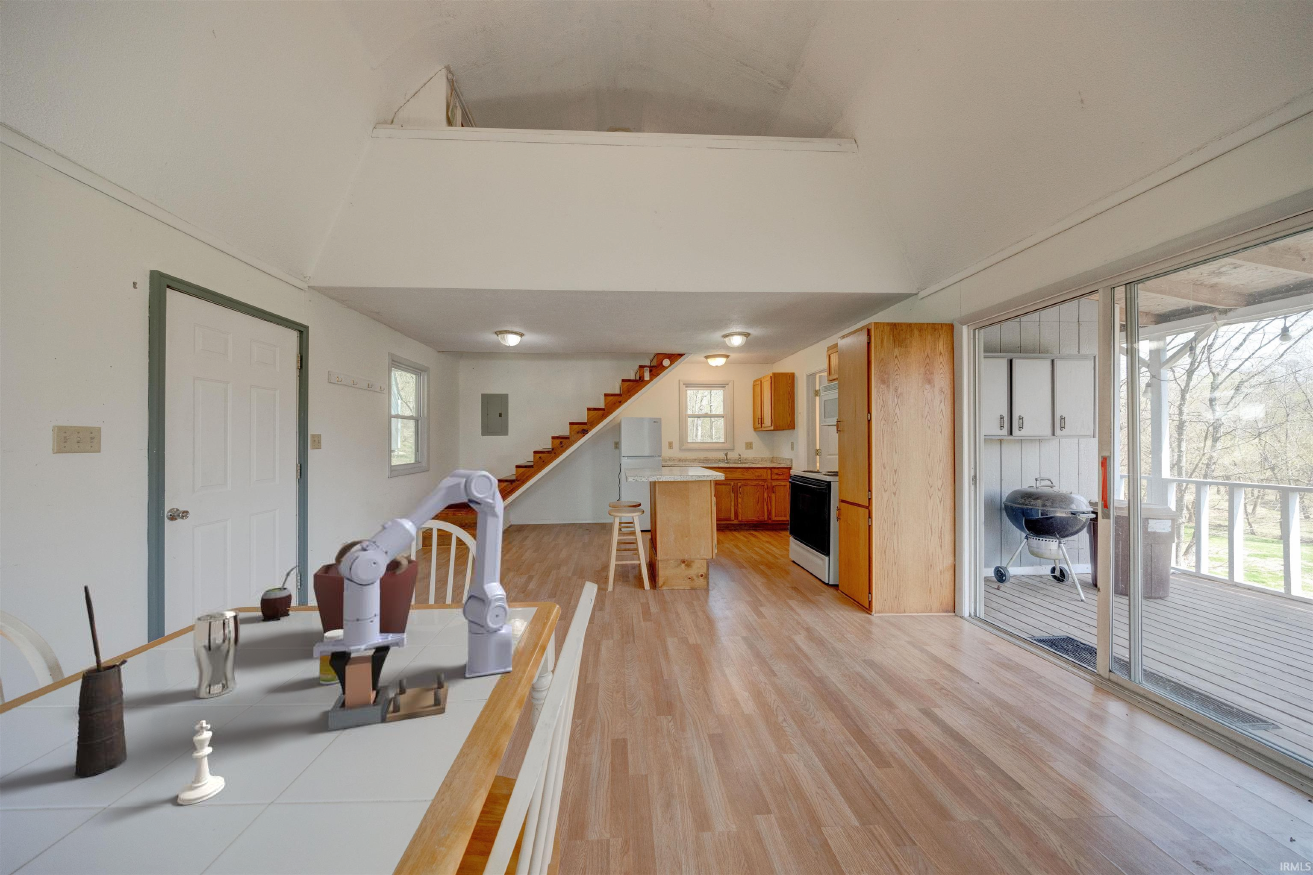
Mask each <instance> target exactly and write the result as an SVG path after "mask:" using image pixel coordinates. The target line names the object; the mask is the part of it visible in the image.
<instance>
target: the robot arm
mask: <svg viewBox="0 0 1313 875" xmlns="http://www.w3.org/2000/svg"><path fill="white" fill-rule="evenodd" d="M498 484H499V481H498V480H497V479H496V478H495V477H494V476H493V475H492V474H490V473H489V472H487V470H467V469H457V470H454V471H453V472H451V474H450V475H449V476H447V477H445V478H444V479H442V481H441V482H440V483H439V484H438V486H436V488H434V489H433V490H432V491H431V492H430V493H429V494H428V495H427V496H425V498H424V499H423V500H421V502H420V503H419V504H418V505H416V506H415V507H414V509H412V510H411V511H410V512H409V513H408V514H407V515H406V516H405V517H403V518H394V519H392V520H390V521H389V520H386V521H384V522H383V523H382V524H381V529H380V530H379V531H377V532H376V533H375V534H373V536H371V537H370V538H369V539H367V540H368V541H367V542H366V541H363V542H362V543H361V544H359V546H360V548H356V549H352V550H351V551H350V552H349V553H347V554H346V555H345V556H344V558H343V559H342V560H343V561H342V562H341V565H339V566H338V569H339V572H340V574H341V575H342V576H343V577H344V578H345V579H344V606H343V638H342V639H337V640H333V641H328V642H324V641H323V642H316V644H315V645H314V646H312V647H313V648H312V649H313V650H312V651H313V654H312V656H313V657H312V658H313V659H315V658H316V659H317V658H320V657H321V656H322V655H331V657H330V660H329V665H330V666H331V668H332V669H333V670H334V672H335V673H336V675H337V677H338V679H339V685H340V687H341V692H342V693H343V695H345V686H346V665H347V663H348V662H349V660H350V658H351V657H352V653H351V652H353V653H359V652H363V651H372V650H374V651H373V653H371V654H372V657H371V658H372V669H373V677H372V691H376V690H377V688H378V686H380V685H379V684H380V679H381V674H382V670H383V667H384V664H385V662H386V659H387V657H388V654H389V652H390V651H391V648H394V647H395V648H397V647H398V648H400V649H401V648H405V647H406V645H407V633H406V632H405V633H402V634H379V618H380V588H379V585H380V578H381V577H382V576H383V575H384V573H385V570H386V566H387V564H389V563H390V561H392V560H393V559H394V558H395V557H396V556H397V555H401V553H402V552H403V551H404V550H406V548H408V547H409V546H410V545H411V544H412V543H413V542H414V541H415V540H416V537H417V532H418V530H419V529H420V528H422V526H424V525H425V524H427V522H429V521H430V520H431V519H432V518H434V517H435V516H436V515H438V514H439V513H440V512H441V511H442V510H443V509H445V508H446V507H448V506H449V505H452V504H460V503H467V504H469V505H470V507H471V508H473V510H474V511H476V512H477V520H476V521H477V522H476V538H475V540H476V542H475V551H474V552H475V557H474V568H473V569H474V571H473V573H474V574H473V583H472V584H471V585H470V586H469V588H468V589H467V594H466V599H465V601H464V602H463V605H462V609H461V611H462V615H463V618H464V619H465V620H467V629H468V630H467V660H466V664H465V665H466V666H465V678H468V679H469V678H473V677H480V676H488V675H494V674H496V675H497V674H501V673H508V672H512V670H513V658H514V649H513V633H512V632H513V630H512V629H513V628H512V624H506V622H507V621H508V619H509V615H510V609H509V606H508V603H507V594H506V592H505V589H504V588H503V586H502V585H501V582H500V578H501V562H502V561H501V560H502V542H503V524H504V505H505V504H504V500H503V498H502V496H501V494H500V491H499V487H498Z"/></svg>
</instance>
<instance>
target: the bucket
mask: <svg viewBox="0 0 1313 875" xmlns="http://www.w3.org/2000/svg"><path fill="white" fill-rule="evenodd" d="M368 540H369V539H359V540H353V541H350V542H349V543H346V544H344V546H342V547H341V548H339V550H338V552H337V554H336V556H335V557H334V562H333V563H327V564H323V565H322V566H321V567H320V568H318V570H317V571H316V572H315V573H313V587H312V588H313V592H314V597H315V600H316V603H317V608H318V613H319V617H320V623H321V627H322V630H323V635H324V634H325V633H327V632H329V631H333V630H340V629H342V630H343V606H344V579H345V578H344V577H343V576H342V575H341V574H340V572H339V569H338V566H339V565H341V562H342V561H343V560H342V559H343V558H344V556H345V555H346V554H347V553H349V552H350V551H352V550H354V548H355V547H357V546H358V545H360V544H361V543H362V542H363V541H366V542H367V541H368ZM418 574H419V562H418V561H417V560H414V559H412V558H410V557H407V556H404V555H401V554H399V555H397V556H396V557H395V558H394V559H393V560H392V561H390V563H389V564H387V566H386V570H385V573H384V575H383V576H382V577H381V578H380V585H379V588H380V618H379V634H402V633H406V628H407V623H408V619H409V616H410V615H409V614H410V610H411V606H412V602H413V596H414V593H415V587H416V583H417V582H416V581H417V579H418ZM353 653H354V652H351V654H353Z"/></svg>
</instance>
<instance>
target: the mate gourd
mask: <svg viewBox="0 0 1313 875" xmlns="http://www.w3.org/2000/svg"><path fill="white" fill-rule="evenodd" d="M299 566H300V565H299V564H297V565H295V566H293V567H292V568H291V569H290V570H289V571H288V572H287V573H286V574H285V579H284V580H283V582H282V584H281V587H275V588H270V589H267V590H265V591H264V592H263V593H262V595H261V597H260V603H259V604H260V612H261V614H262V619H261V620H262V622H267V621H271V620H275V621H277V622H279V621H281V618H284V617H289V616H290V615H291V614H290V610H291V605H292V600H293V597H292V596H293V595H292V592H291V590H290V589H289V588H288V587H285V586H286V584H287V581H288V578H289V577H290V575H291V572H292V571H293V570H295V569H296V568H297V567H299ZM287 608H290V609H287Z"/></svg>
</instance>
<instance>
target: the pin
mask: <svg viewBox="0 0 1313 875" xmlns="http://www.w3.org/2000/svg"><path fill="white" fill-rule="evenodd" d="M372 654H373V653H371V654H364V655H355V656H351V658H350V660H349V662H348V663H347V665H346V686H345V708H346V707H353V706H359V705H366V704H373V701H374V699H375V697H376V691H372V677H373V669H372V658H371V657H372Z"/></svg>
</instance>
